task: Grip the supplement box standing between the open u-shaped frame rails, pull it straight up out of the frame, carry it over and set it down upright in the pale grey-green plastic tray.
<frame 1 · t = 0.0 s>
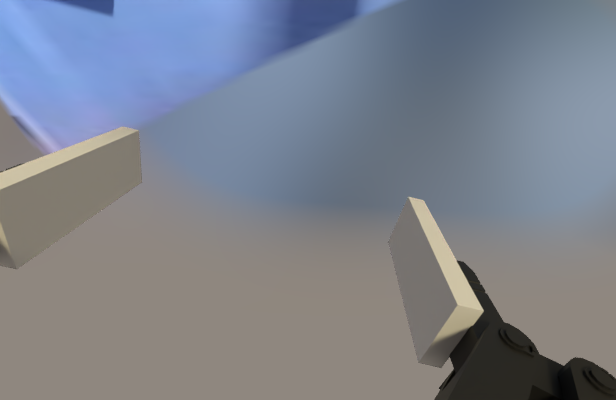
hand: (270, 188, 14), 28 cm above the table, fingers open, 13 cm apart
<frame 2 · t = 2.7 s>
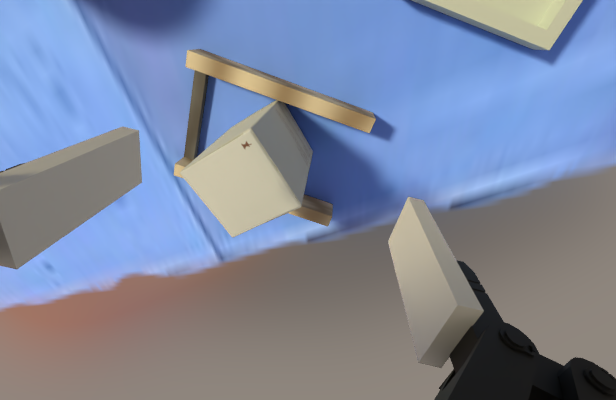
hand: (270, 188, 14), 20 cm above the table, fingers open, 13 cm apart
open u-shaped frame: (272, 140, 34), on the table
supplement box: (272, 140, 34), resting in open u-shaped frame
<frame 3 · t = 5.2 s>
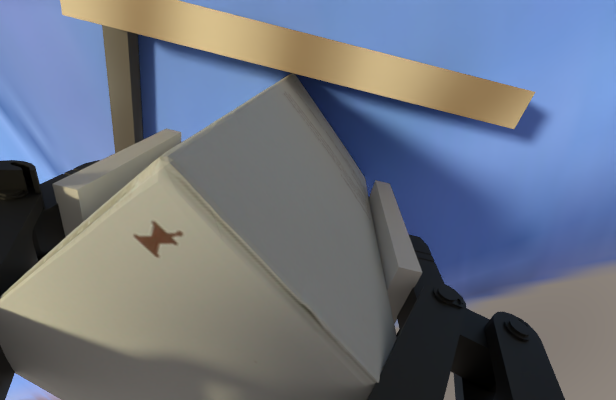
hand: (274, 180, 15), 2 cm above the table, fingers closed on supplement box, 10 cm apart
open u-shaped frame: (282, 164, 17), on the table
supplement box: (282, 163, 17), resting in open u-shaped frame, touching gripper
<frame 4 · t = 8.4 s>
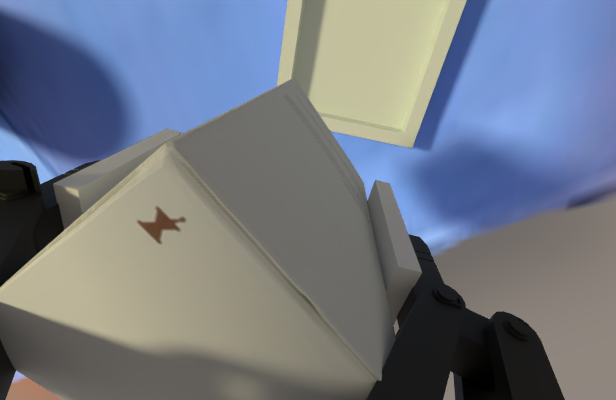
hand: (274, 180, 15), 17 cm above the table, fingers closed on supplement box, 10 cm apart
tray: (359, 54, 28), on the table
supplement box: (282, 167, 17), point 15 cm above the table, touching gripper
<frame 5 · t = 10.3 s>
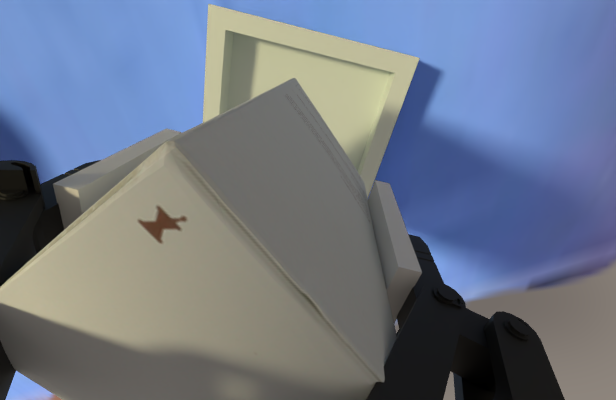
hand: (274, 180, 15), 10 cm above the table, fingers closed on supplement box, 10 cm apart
tray: (297, 127, 24), on the table
supplement box: (282, 166, 17), point 8 cm above the table, touching gripper
when the fingers open (5 cm above the table, at t = 11.9 s): supplement box drops 2 cm, resting on tray.
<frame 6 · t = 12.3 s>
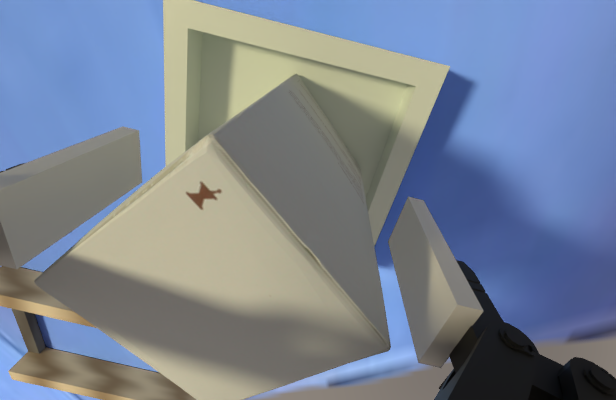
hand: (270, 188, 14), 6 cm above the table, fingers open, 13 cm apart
tray: (288, 151, 19), on the table
open u-shaped frame: (114, 333, 30), on the table
supplement box: (285, 155, 19), resting on tray
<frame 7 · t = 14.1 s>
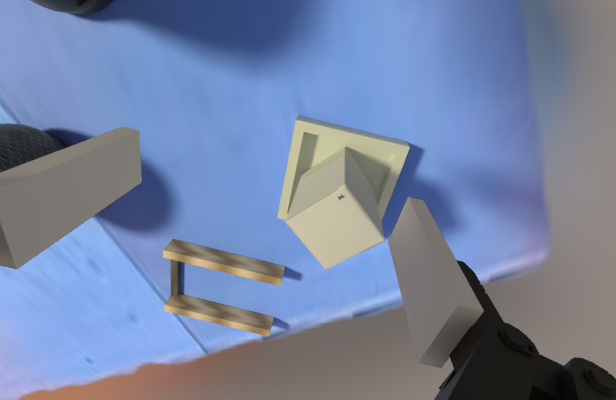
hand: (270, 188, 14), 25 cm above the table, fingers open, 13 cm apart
tray: (338, 178, 40), on the table
planter: (55, 160, 44), on the table
open u-shaped frame: (225, 283, 51), on the table
supplement box: (337, 180, 40), resting on tray
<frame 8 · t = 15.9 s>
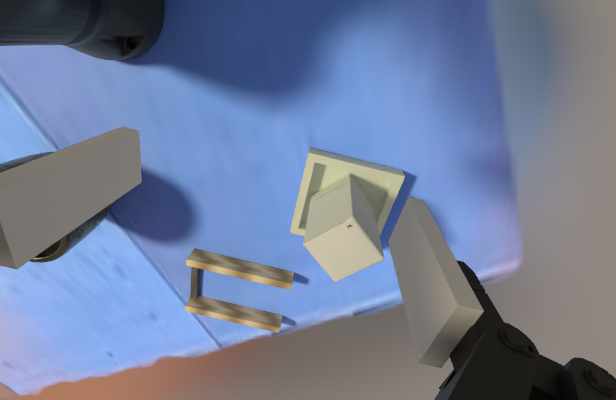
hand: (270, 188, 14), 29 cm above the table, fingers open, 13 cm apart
tray: (343, 199, 46), on the table
planter: (89, 180, 49), on the table
open u-shaped frame: (240, 286, 57), on the table
supplement box: (342, 201, 46), resting on tray
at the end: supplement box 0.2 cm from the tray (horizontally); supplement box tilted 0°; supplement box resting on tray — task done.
